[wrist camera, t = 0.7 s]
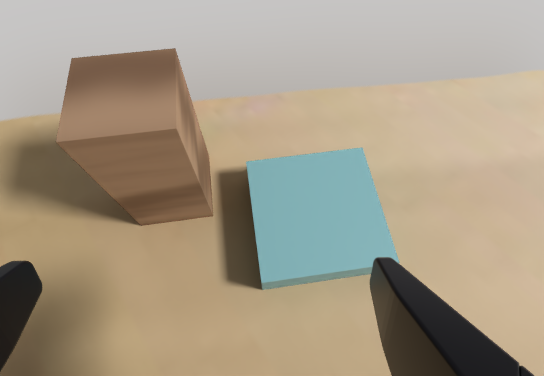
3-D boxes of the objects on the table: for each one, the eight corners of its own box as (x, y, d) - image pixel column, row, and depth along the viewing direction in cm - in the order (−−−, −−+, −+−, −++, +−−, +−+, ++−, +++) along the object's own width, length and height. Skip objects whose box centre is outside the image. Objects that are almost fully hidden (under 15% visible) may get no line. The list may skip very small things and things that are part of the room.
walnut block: (213, 215, 25) (176, 128, 15) (141, 225, 25) (55, 142, 15) (209, 156, 27) (175, 48, 18) (143, 164, 27) (71, 58, 17)
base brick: (384, 272, 23) (399, 262, 21) (262, 291, 23) (261, 282, 20) (353, 167, 28) (362, 147, 25) (248, 180, 27) (246, 161, 24)
